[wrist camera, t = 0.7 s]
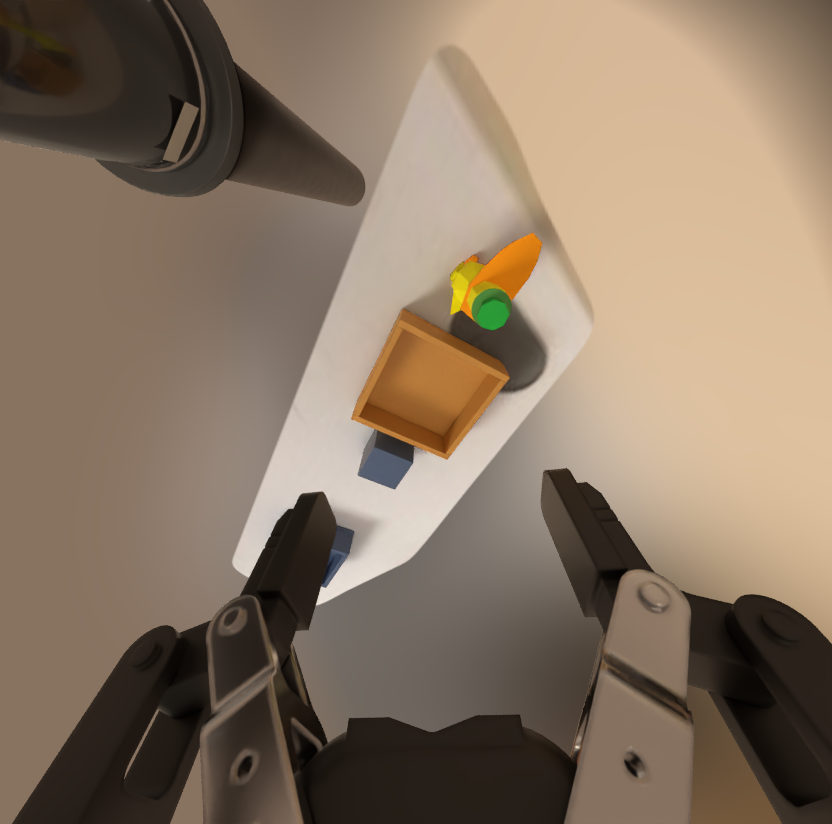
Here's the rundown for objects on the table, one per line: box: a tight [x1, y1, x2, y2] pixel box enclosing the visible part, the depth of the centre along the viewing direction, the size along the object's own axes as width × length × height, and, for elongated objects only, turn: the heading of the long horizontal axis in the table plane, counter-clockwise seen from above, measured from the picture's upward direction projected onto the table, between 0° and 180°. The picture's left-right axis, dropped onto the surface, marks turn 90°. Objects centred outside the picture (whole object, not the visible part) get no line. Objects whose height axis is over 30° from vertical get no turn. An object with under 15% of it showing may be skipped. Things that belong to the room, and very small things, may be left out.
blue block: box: [358, 429, 414, 489], centre depth 33 cm, size 4×4×4 cm
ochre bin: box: [351, 309, 510, 459], centre depth 29 cm, size 11×11×4 cm
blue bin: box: [321, 526, 354, 588], centre depth 44 cm, size 10×10×4 cm
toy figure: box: [450, 233, 542, 331], centre depth 20 cm, size 7×4×12 cm, turn 142°
